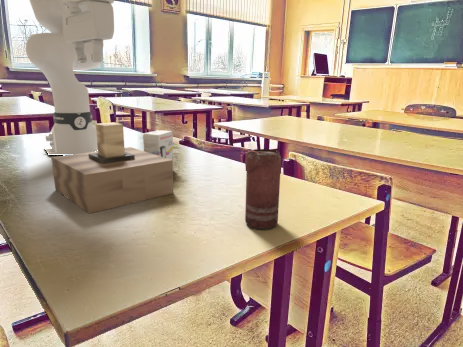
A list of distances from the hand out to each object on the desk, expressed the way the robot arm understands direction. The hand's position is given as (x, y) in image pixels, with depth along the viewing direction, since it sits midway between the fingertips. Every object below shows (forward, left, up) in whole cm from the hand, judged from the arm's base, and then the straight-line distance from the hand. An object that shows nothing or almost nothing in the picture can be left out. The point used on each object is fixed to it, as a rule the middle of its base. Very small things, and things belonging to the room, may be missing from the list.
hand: (89, 62), depth 83 cm
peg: (+8, 0, -22) cm, 24 cm away
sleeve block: (+8, 0, -29) cm, 30 cm away
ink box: (+1, +17, -30) cm, 34 cm away
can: (+44, +12, -30) cm, 54 cm away
